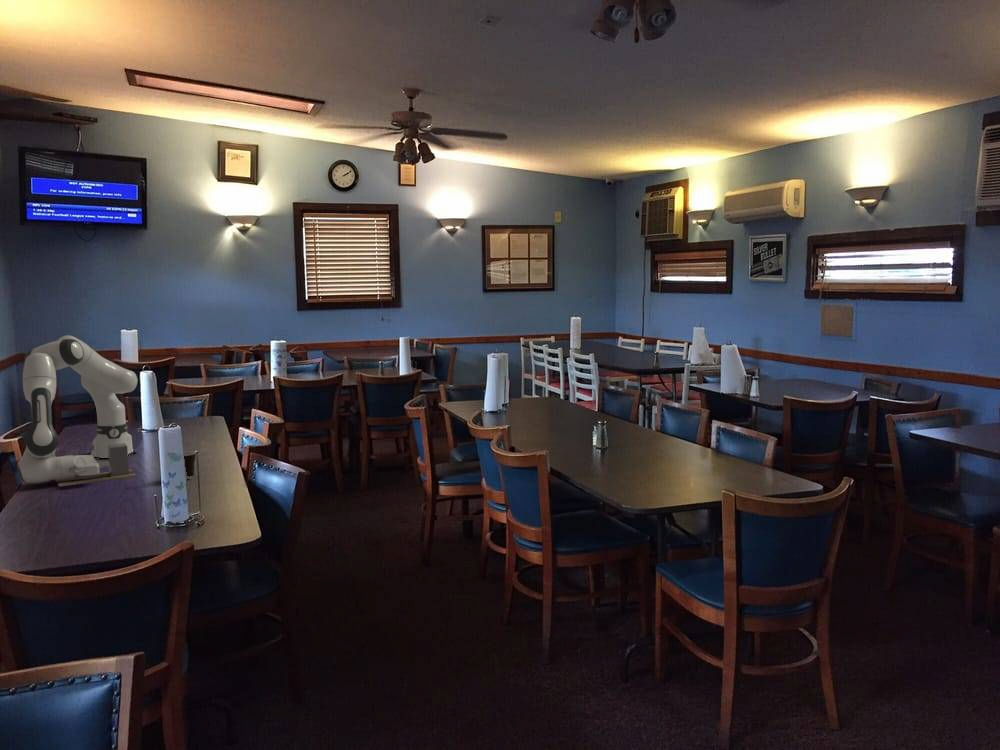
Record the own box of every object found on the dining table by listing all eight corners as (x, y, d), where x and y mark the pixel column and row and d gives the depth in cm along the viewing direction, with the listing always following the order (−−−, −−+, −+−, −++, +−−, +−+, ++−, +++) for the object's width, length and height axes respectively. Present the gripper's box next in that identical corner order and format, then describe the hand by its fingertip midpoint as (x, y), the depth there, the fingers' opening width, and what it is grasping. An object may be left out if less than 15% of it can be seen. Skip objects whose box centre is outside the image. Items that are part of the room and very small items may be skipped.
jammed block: (109, 475, 297) (107, 445, 296) (126, 473, 301) (124, 443, 299) (111, 478, 292) (109, 447, 291) (128, 476, 296) (127, 446, 294)
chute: (56, 484, 289) (56, 478, 289) (131, 474, 304) (131, 469, 303) (58, 489, 281) (58, 484, 281) (136, 479, 296) (135, 474, 295)
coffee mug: (191, 481, 294) (190, 456, 292) (169, 481, 294) (168, 456, 292) (203, 474, 305) (202, 449, 304) (181, 474, 305) (180, 449, 304)
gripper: (71, 464, 278) (113, 459, 285) (65, 454, 294) (105, 449, 302) (72, 481, 278) (114, 476, 286) (66, 470, 295) (106, 465, 303)
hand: (109, 462), depth 294 cm, fingers closed, pressing on jammed block
